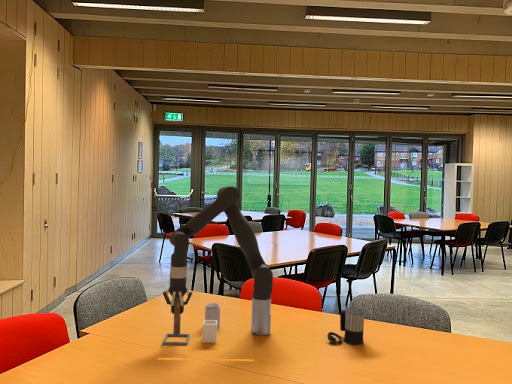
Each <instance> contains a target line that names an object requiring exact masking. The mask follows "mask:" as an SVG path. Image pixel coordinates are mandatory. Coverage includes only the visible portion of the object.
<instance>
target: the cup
mask: <svg viewBox="0 0 512 384" xmlns="http://www.w3.org/2000/svg"><path fill="white" fill-rule="evenodd" d="M217 340H218V328H217V320H205V319H203V323H202V341H201V342H202V343H209V344H211V343H216V344H217Z"/></svg>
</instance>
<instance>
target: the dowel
mask: <svg viewBox="0 0 512 384" xmlns="http://www.w3.org/2000/svg"><path fill="white" fill-rule="evenodd" d="M180 306H181V303H180V299H179V298H175V300H174V314H173V332H172V334H175V335H178V334H181V316H182V314H180Z"/></svg>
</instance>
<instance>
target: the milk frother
mask: <svg viewBox="0 0 512 384" xmlns="http://www.w3.org/2000/svg"><path fill="white" fill-rule="evenodd" d="M365 313H366V311H365V310H364V309H361V308H358V307H357V308H356V307H348V308H345V309H342V310H341V311H340V314H339V322H340V323H339V329H340V331H341V332H344V336H341V335H340V334H338V333H336V332H332V331H330V332H328V333H327V339H328V341H329V342H331V343H332V344H335V345H337V344H341V343H342V341H344V342H345V343H346V344H348V345H353V346H354V345H355V346H356V345H357V346H359V345H362V344H364V342H365V341H364V329H365ZM334 336H335V337H334ZM337 338H338V340H337Z"/></svg>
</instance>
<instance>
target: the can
mask: <svg viewBox="0 0 512 384" xmlns="http://www.w3.org/2000/svg"><path fill="white" fill-rule="evenodd" d="M204 309H205V310H204V320H217V329H219V328H220V326H221V307H220V304H218V303H215V302H210V303H207V304H206V306H205V308H204Z"/></svg>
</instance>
